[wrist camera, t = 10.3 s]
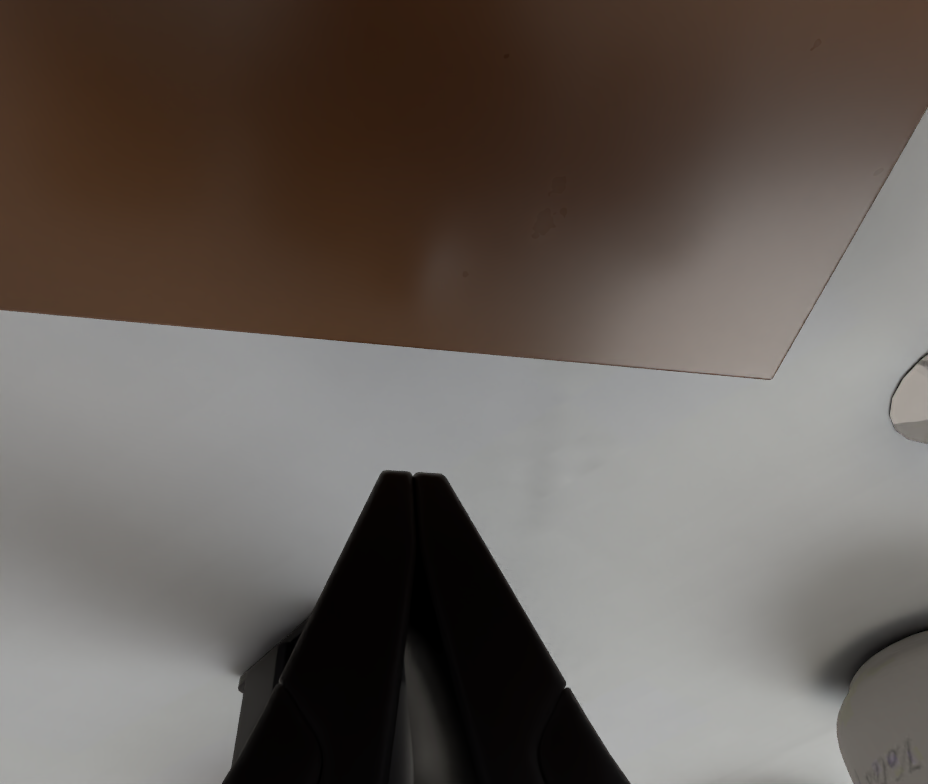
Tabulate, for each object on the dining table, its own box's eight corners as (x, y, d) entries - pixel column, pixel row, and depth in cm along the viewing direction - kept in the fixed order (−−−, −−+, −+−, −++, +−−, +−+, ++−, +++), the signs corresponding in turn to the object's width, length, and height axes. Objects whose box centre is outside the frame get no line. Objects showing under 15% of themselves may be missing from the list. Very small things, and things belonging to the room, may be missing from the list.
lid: (-338, -844, 5) (-422, -915, 4) (1154, -378, 7) (1215, -391, 7) (-8, 283, 11) (-29, 308, 10) (757, 356, 13) (772, 382, 12)
